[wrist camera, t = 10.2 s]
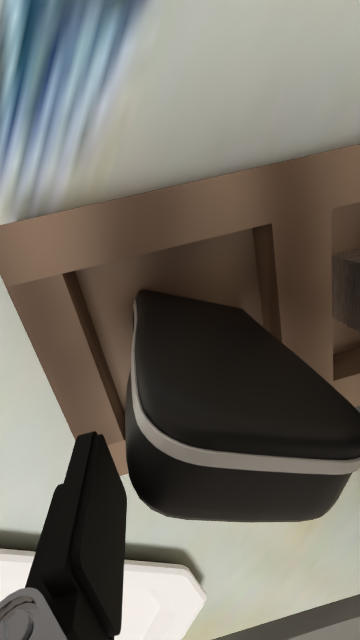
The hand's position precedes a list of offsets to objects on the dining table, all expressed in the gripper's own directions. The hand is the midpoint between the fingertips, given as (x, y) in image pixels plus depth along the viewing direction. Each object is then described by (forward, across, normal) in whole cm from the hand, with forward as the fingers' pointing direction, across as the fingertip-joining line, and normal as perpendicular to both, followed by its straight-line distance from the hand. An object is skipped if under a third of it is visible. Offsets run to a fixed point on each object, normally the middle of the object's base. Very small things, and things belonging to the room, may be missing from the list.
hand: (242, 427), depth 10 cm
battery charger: (+9, +1, -1) cm, 9 cm away
